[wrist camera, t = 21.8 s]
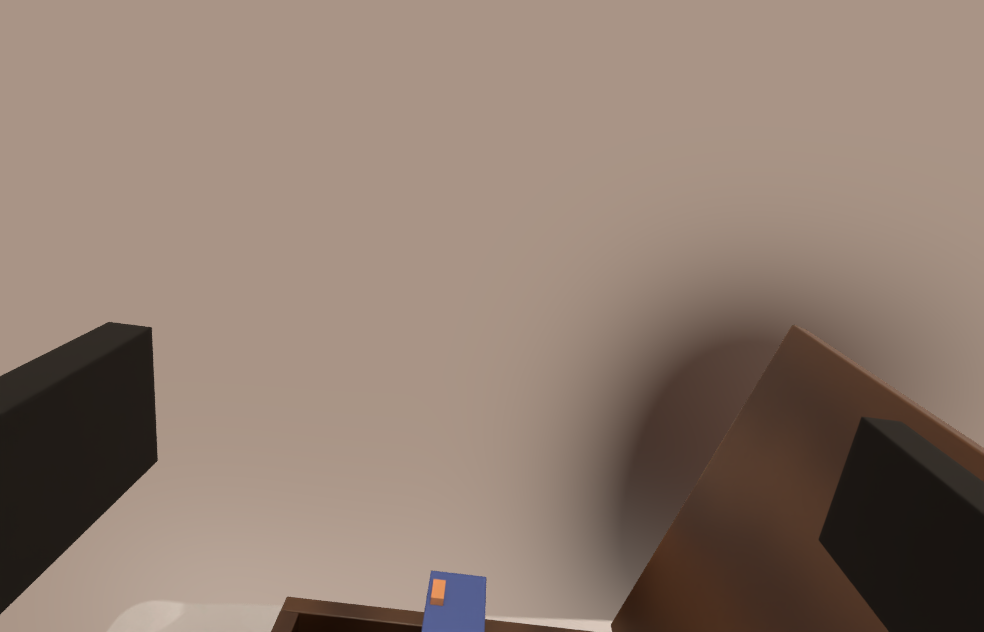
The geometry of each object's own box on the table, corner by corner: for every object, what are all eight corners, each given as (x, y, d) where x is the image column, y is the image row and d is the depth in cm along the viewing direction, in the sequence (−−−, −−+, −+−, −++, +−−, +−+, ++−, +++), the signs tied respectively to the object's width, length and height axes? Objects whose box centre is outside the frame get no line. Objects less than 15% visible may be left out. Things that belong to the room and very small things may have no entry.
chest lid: (1032, 486, 15) (1179, 547, 16) (791, 323, 27) (877, 360, 28) (676, 928, 20) (794, 963, 21) (609, 624, 33) (684, 651, 33)
